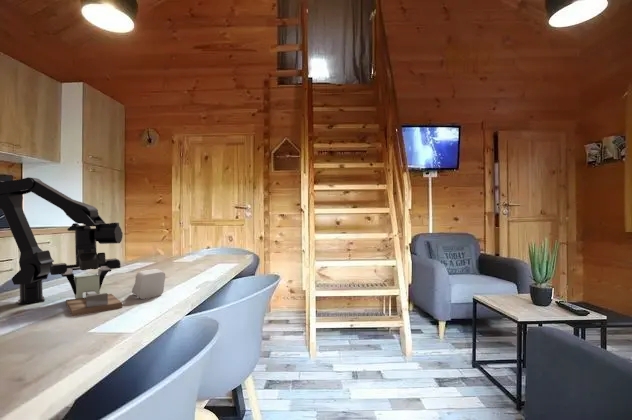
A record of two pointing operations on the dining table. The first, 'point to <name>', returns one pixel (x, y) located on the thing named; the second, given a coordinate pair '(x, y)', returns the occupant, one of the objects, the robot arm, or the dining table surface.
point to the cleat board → (93, 303)
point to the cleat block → (86, 284)
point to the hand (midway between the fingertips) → (87, 293)
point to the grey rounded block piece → (149, 283)
